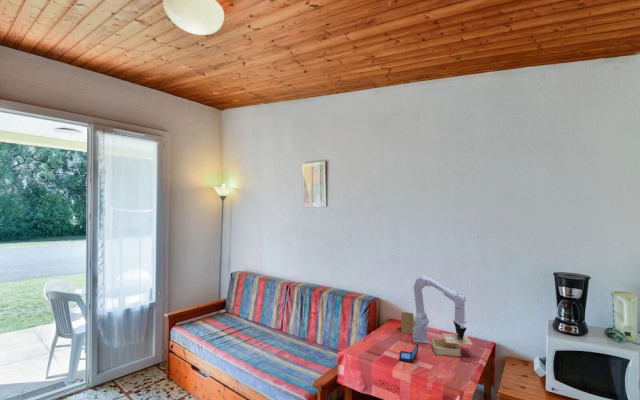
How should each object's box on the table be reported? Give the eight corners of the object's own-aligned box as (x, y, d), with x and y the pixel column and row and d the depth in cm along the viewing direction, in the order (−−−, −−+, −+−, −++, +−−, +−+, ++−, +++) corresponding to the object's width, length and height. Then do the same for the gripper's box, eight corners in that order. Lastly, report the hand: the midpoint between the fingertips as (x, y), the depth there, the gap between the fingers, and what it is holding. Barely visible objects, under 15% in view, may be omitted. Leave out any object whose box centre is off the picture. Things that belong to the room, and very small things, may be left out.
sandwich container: (416, 327, 243) (416, 307, 243) (413, 334, 229) (413, 313, 229) (404, 325, 246) (404, 305, 246) (401, 332, 232) (401, 311, 233)
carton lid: (446, 342, 196) (446, 336, 196) (442, 334, 210) (442, 328, 210) (472, 345, 193) (472, 338, 193) (466, 336, 206) (466, 330, 207)
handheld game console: (400, 352, 200) (400, 340, 200) (418, 355, 197) (418, 343, 197) (398, 361, 188) (398, 348, 188) (417, 364, 185) (417, 351, 185)
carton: (435, 354, 197) (435, 347, 197) (431, 345, 211) (431, 338, 211) (460, 357, 194) (460, 349, 194) (455, 347, 208) (456, 340, 208)
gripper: (469, 318, 193) (469, 341, 193) (463, 310, 207) (463, 331, 207) (457, 317, 195) (457, 339, 194) (452, 310, 209) (452, 330, 209)
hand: (459, 335), depth 201 cm, fingers open, 7 cm apart
